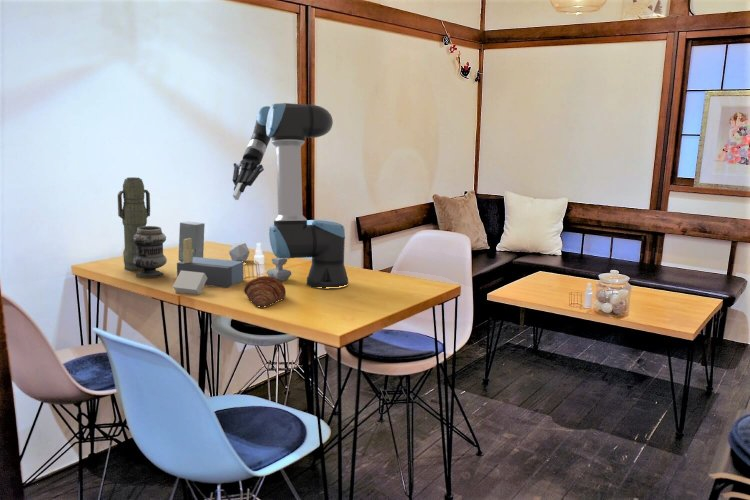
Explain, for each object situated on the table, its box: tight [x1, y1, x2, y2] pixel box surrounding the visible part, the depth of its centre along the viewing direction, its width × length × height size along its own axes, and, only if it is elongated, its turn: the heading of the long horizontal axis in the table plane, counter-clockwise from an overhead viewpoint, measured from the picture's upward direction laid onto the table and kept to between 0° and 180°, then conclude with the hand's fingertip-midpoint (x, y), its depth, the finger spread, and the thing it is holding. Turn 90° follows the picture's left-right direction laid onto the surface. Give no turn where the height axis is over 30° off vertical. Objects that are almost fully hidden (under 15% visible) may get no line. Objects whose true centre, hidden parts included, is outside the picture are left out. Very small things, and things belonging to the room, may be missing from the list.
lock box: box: [176, 257, 244, 289], centre depth 240 cm, size 20×12×7 cm, turn 74°
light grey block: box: [172, 270, 207, 296], centre depth 225 cm, size 9×7×5 cm
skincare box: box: [178, 220, 205, 262], centre depth 274 cm, size 8×7×16 cm
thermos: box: [117, 176, 151, 272], centre depth 254 cm, size 9×12×35 cm
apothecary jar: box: [132, 225, 168, 279], centre depth 245 cm, size 12×12×18 cm
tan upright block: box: [183, 238, 194, 263], centre depth 237 cm, size 2×5×8 cm, turn 164°
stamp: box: [266, 257, 292, 282], centre depth 245 cm, size 9×7×8 cm
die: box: [228, 242, 250, 262], centre depth 275 cm, size 8×9×10 cm
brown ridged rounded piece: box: [243, 275, 286, 307], centre depth 218 cm, size 17×15×8 cm
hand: (235, 197), depth 259 cm, fingers closed
